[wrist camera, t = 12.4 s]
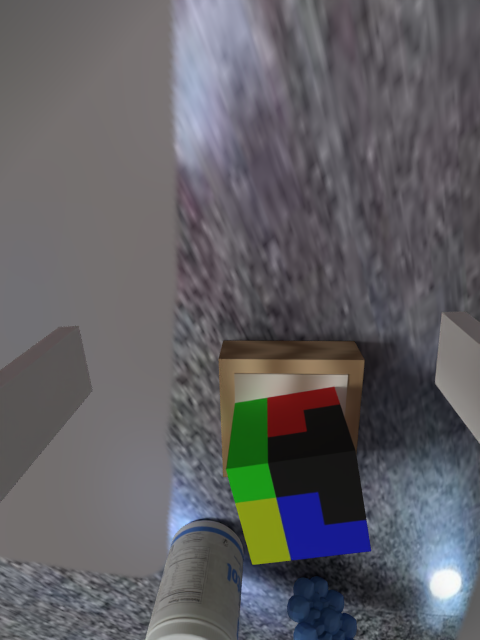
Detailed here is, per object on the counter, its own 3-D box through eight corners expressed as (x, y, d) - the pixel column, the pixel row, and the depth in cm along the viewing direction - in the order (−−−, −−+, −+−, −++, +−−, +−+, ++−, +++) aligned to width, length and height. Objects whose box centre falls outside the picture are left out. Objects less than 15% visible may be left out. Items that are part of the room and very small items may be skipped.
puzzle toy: (348, 469, 44) (371, 551, 34) (254, 482, 45) (252, 564, 35) (334, 386, 40) (355, 450, 31) (234, 402, 42) (225, 469, 32)
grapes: (264, 572, 56) (264, 673, 44) (299, 545, 54) (309, 643, 42) (325, 617, 58) (339, 724, 46) (361, 592, 56) (386, 698, 45)
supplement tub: (254, 562, 55) (251, 691, 41) (190, 578, 57) (166, 708, 43) (226, 507, 52) (212, 626, 39) (159, 526, 54) (123, 647, 40)
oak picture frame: (354, 341, 44) (364, 361, 39) (345, 451, 49) (354, 481, 44) (223, 340, 45) (218, 359, 40) (227, 449, 50) (223, 478, 45)
